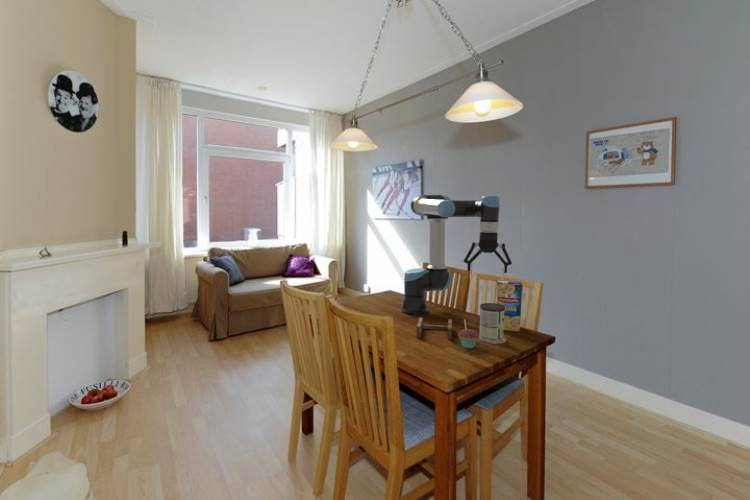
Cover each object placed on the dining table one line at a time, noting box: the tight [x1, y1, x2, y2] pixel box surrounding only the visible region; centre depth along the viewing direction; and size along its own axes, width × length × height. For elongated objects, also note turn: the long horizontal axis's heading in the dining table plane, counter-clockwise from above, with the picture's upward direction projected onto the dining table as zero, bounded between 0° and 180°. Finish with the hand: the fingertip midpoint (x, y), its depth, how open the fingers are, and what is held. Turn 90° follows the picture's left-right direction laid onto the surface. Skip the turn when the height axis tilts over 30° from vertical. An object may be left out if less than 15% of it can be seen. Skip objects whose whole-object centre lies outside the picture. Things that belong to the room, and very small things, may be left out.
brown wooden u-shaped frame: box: [416, 316, 453, 341], centre depth 166 cm, size 14×15×5 cm
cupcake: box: [457, 317, 480, 349], centre depth 150 cm, size 9×8×12 cm
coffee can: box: [479, 302, 505, 341], centre depth 158 cm, size 10×10×14 cm
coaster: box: [478, 333, 507, 345], centre depth 159 cm, size 12×12×1 cm
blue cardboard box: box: [496, 280, 523, 332], centre depth 173 cm, size 7×11×22 cm, turn 69°
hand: (486, 279), depth 161 cm, fingers open, 13 cm apart
